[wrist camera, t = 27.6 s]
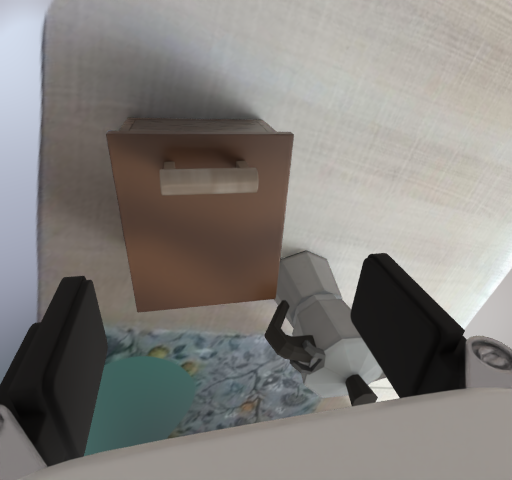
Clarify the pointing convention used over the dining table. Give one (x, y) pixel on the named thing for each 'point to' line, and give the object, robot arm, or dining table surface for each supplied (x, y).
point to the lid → (201, 214)
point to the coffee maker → (321, 332)
